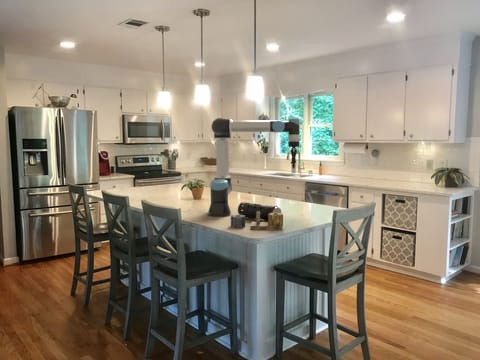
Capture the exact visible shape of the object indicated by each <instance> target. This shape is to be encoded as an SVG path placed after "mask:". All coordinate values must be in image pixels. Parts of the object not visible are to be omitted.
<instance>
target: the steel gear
mask: <svg viewBox="0 0 480 360" xmlns="http://www.w3.org/2000/svg"><path fill="white" fill-rule="evenodd" d="M230 227H233V228H244V227H246V218H245V215H239V214H231V215H230Z"/></svg>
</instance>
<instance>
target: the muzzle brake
mask: <svg viewBox="0 0 480 360" xmlns="http://www.w3.org/2000/svg"><path fill="white" fill-rule="evenodd" d="M257 212H260V220H263V222H268V214H270V213H274V212H277V213H282V209H281V207H278V206H277V205H267V204H260V203H253V202H245V201H242V202H240V203H239V204H238V207H237V213H238V215H245V219H251V220H256V215H257Z"/></svg>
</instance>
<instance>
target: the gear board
mask: <svg viewBox="0 0 480 360" xmlns="http://www.w3.org/2000/svg"><path fill="white" fill-rule="evenodd" d="M255 220H256V221H251V223H250V230H257V231H259V230H264V231H283V229H284V228H283V227H284V213H282V212H281V213H277V212H274V213H270V214H268V222H267V221H261V219H260V212H257V215H256V219H255Z"/></svg>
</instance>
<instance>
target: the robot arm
mask: <svg viewBox="0 0 480 360" xmlns="http://www.w3.org/2000/svg"><path fill="white" fill-rule="evenodd" d="M300 123H301V122H300V118H298V117H289V118H288V120H285V121H284V120H280V119H276V120H274V119H273V120H270V119H269V120H266V119H265V120H263V119H262V120H259V119H257V120H254V119H253V120H252V119H251V120H232V118H222V117H219V118H218V117H217V118H215V119H214V120H213V121H212V123H211V127H210V128H211V131H212V132H213V138H214V140H215V141H216V142H215V143H216V144H215V145H216V146H215V148H216V151H215V153H216V174H215V176H214V179H212V180H211V181H210V185H209V186H210V204H209V207H208V208H209V209H208V211H207V212H208V213H207V215H208V216H210V217H217V218H219V217H228V216H229V217H230V216H231V215H232V214H231V213H232V211H231V209H230V205H229V195H230V194H231V192H232V190H233V185H232V177H231V176H230V171H229V170H230V168H229V167H230V161H229V160H230V157H229V156H230V153H229V152H230V149H229V145H230V144H229V141H230V140H231V137H232V133H287V134H288V135H287V140H288V142H287V146H288V148H291V149H290V155H291V161H290V164H291V174H296V171H297V168H296V167H297V159H296V157H297V151H298V150H297V148H299V147H300V138H301V136H300V131H301V130H300V128H301V127H300V126H301V125H300Z"/></svg>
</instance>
